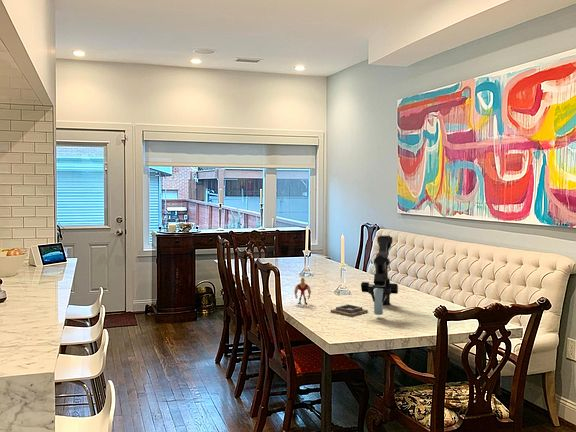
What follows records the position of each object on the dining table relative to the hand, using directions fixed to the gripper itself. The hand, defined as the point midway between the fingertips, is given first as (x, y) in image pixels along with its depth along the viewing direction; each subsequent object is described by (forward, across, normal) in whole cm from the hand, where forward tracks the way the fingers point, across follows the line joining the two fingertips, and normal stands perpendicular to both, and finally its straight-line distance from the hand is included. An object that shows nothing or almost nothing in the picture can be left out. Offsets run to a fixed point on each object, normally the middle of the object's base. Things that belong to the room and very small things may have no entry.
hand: (378, 301), depth 290 cm
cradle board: (0, -16, +12) cm, 20 cm away
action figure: (-10, -45, +23) cm, 51 cm away
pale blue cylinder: (+4, 0, +6) cm, 7 cm away
